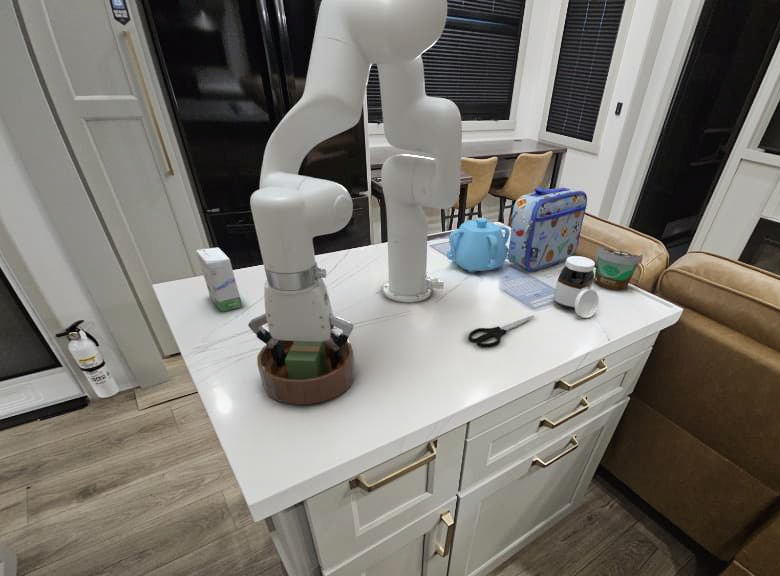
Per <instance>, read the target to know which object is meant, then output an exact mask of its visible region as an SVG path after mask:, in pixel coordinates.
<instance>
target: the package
mask: <svg viewBox="0 0 780 576" xmlns="http://www.w3.org/2000/svg"><path fill="white" fill-rule="evenodd" d="M285 362H286V366H287V371H288V375H289V379H297V380H304V379H310V378H317V377H320V376H323V375H324V374H325V371H326V368H327V360H326V353H325V346H324V341H322V342H314V341H294V343H293V345H292V346H291V348H290V351H289V353H288V355H287V357H286V359H285Z"/></svg>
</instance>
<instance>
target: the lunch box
mask: <svg viewBox="0 0 780 576" xmlns="http://www.w3.org/2000/svg"><path fill="white" fill-rule="evenodd" d="M587 204H588V195H587V193H586V192H585V191H584V190H575V189H573V190H572V189H570V188H567V187H556V188H555V187H554V188H550V189H543V188H541V187H534V192H530V193H526V194H523V195H521V196H519V197H518V198H517V199H516V200H515V203H514V204H513V208H512V215H511V216H512V217H511V228H510V235H509V242H508V253H507V259H508V262H509V263H511V264H515V265H517V266H521V267H523V268H525V269H526V271H529V272H532V271H533V272H536V271H538V270H541V269H543V268H547V267H550V266H552V265H555V264H557V263H559V262H562V261H564V260H566V259H567V258H568V257H570V256H574V254H575V252H576V251H577V249H578V246H579V241H580V237H581V231H582V226H583V221H584V218H585V214H586V210H587Z"/></svg>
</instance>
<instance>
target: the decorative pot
mask: <svg viewBox="0 0 780 576" xmlns="http://www.w3.org/2000/svg"><path fill="white" fill-rule="evenodd" d="M503 230H504V233H503ZM510 236H511V231H510V230H509V228H508V227H507V226H506V225H501V224H500V225H498V224H495V223H493V222H491V221H489V219H487V218H484V217H477V218H475V220H473V219H468V220H465V222H463V223H461V224H460V226H459V227H458V228H456V229H454V230H452V231H451V232H450V234H449V236H448V242H449V245H450V250H448V251H447V253H446V258H447V259H448V260H450V261H454V262H455V263H456V265H458V266H459V268H462V269H464V270H467V272H468V273H471V274H472V273H473V274H475V273H477V272H478V271H481V272H482V271H496V270H497V269H498V268H500V267H501V266H502V265H503V264H504V263H505V261H506V259H507V255H508V250H509V246H507V242H509V241H508V240H509V239H510Z"/></svg>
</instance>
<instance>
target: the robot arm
mask: <svg viewBox="0 0 780 576" xmlns="http://www.w3.org/2000/svg"><path fill="white" fill-rule="evenodd" d="M447 16H448V0H321V2H320V5H319V9H318V14H317V19H316V24H315V30H314V37H313V40H312V47H311V52H310V57H309V58H310V59H309V63H308V69H307V74H306V80H305V84H304V85H305V86H304V91H303V93H302V96H301V98H300V99H299V100H298V102H296V103H295V104H294V105H293V107H292V108H291V109H290V110H289V111H288V112H287V113H286V114H285V115H284V117H283V118H282V119H281V120H280V122H279V123H278V125H277V126H276V127H275V129H274V130H273V132H272V133H271V135H270V137H269V139H268V141H267V143H266V146H265V149H264V152H263V153H264V154H263V160H262V163H261V170H260V178H259V186H258V187H259V189H257V190H255V191H254V192H253V193H252V194H251V196H250V198H249V199H250V200H249V204H250V210H251V214H252V219H253V223H254V229H255V232H256V236H257V241H258V246H259V249H260V254H261V258H262V264H263V268H264V271H265V277H266V280H265V282H264V290H263V293H264V295H263V296H264V312H265V313H263V314H261V315H259V316H257V317H254V318H253V319H251V320H250V321H249V322H248V325H247V327H249V329H250V330H251V332H252V333H254V334H255V335H256V338H257V339H258V340H259V341H261V342H262V343H264V344H265V346H267V347H268V348H270V349H271V353H272V357H273V360H274V361H275V362H276V366H277V367H282V365H283V363H284V361H285V359H286V356H285V352H284V347H283V343H282V341H281V340H286V341H314V342H322V341H324V342H325V343H326V344H327V345H328V346H329V347H330V351H329V353H330V360H331V367H332V368H333V369H336V367H337V364H338V363H340V362H341V351H340V347H341V346H342V345H343V344H344V343H345V342H346V341H349V337H350V336H351V334H352V332H353V330H354V324H353V323H351V322H349V321H348V320H345V319H343V318H342V317H341V318H340V317H338V316H336V315H334V313H333V308H332V304H331V300H330V296H329V293H328V289H327V286H326V284H325V282H324V279H326V278H327V269H325V268H321V267H319V266H318V262H317V261H316V256H315V248H314V243H313V242H314V241H313V239H314V238H315V237H318V236H324V235H331V234H333V233H337V232H339V231H341V230H342V229H344V228H345V227H346V226H347V225H348V224H349V222H350V221H351V218H352V216H353V210H354V206H353V205H354V204H353V203H354V202H353V199H352V197H351V194H350V193H349V191H348V190H347V189H346V188H345V187H344V186H343V185H342V184H339V183H338V182H335V181H331V180H328V179H322V178H316V177H312V176H307V175H300V174H299V171H300V168H301V165H302V163H303V161H304V159H305V158H306V156H307V155H308V153H310V151H311V150H312V149H313V148H314V147H317V145H318V144H320V143H321V142H324V141H325V140H329V139H330V138H332V137H334V136H337V135H339V134H341V133H344V132H345V131H348V130H349V129H351V128H353V127H354V126H356V125H357V124H358V123H359V121H360V119H361V117H362V111H363V105H364V100H365V95H366V90H367V86H368V81H369V76H370V71H371V67H372V66H373V65H376V67H377V72H378V81H379V91H380V101H381V102H380V103H381V113H382V123H383V131H384V136H385V139H386V141H387V143H388V144H389V145H390V146H391V147H394V148H396V149H399V150H404V151H412V152H418V153H425V154H431V155H432V157H433V158H431V157H425V156H419V155H414V154H406V153H405V154H404V153H403V154H402V153H401V154H400V153H399V154H393V155H391V156H389V157H387V158H386V159H385V161H384V162H383V164H382V167H381V170H380V181H381V182H380V183H381V188H382V193H383V198H384V203H385V212H386V228H387V229H386V231H387V234H386V235H387V263H388V266H387V267H388V281H387V282H385V283H384V284H383V286H382V292H383V293H382V294H383V295H384V296H385V297H386V298H388V299H390V300H392V301H395V302H399V303H400V302H401V303H417V302H421V301H425V300H427V299H428V298H429V297H431V295H432V292H433V289H436V290H444V287H445V284H444V283H445V282H444V281H443V280H441V281H440V278H439V277H430V276H429V275H428V272H429V271H427V265H428V264H427V263H428V261H427V260H428V233H429V231H428V229H429V227H428V226H429V225H428V220H427V216H426V213H425V211H424V209H423V208H422V207H426V208H427V207H428V208H433V209H440V210H448V209H451V208H453V207H454V206H455V205H456V203H457V201H458V199H459V196H460V191H461V180H462V179H461V178H462V177H461V176H462V147H463V146H462V142H463V140H462V139H463V126H462V125H463V122H462V115H461V113H460V112H461V111H460V110H459V107H458V105H457V104H455V102H454V101H452V100H451V99H447V98H445V97H436V96H435V97H434V96H428V95H427V94H426V90H425V89H426V88H425V72H424V63H423V62H424V61H423V58H422V54H423V53H425V52H426V51H428V50H429V49H430V48H432V47H433V46H434V45H435V44H436V43H437V42H438V40H439V39H440V38H441V36H442V34H443V32H444V29H445V26H446V23H447ZM266 324H267V329H268V330H267V329H265V328H264V327H263V326H264V325H266ZM335 328H337V329H339V330H342V332H341V333H340V334H338V333H336V332H335V331H334V329H335ZM337 334H338V335H339V336H338V335H337Z"/></svg>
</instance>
